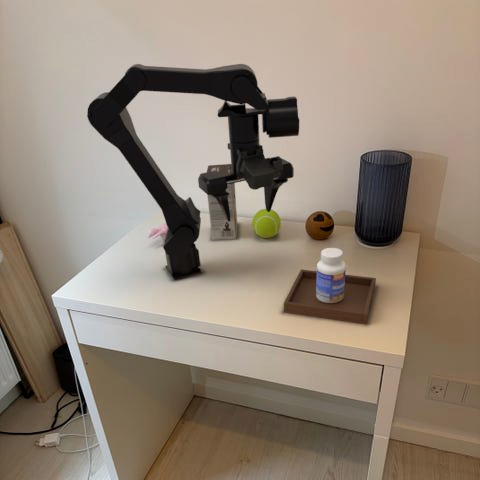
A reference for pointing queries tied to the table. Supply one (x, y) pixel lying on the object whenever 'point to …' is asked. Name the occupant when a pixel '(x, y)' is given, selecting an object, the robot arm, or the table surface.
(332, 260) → the pill bottle
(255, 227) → the tennis ball
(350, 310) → the tray
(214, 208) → the coffee box
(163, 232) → the rabbit figure
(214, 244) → the table surface
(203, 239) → the table surface
